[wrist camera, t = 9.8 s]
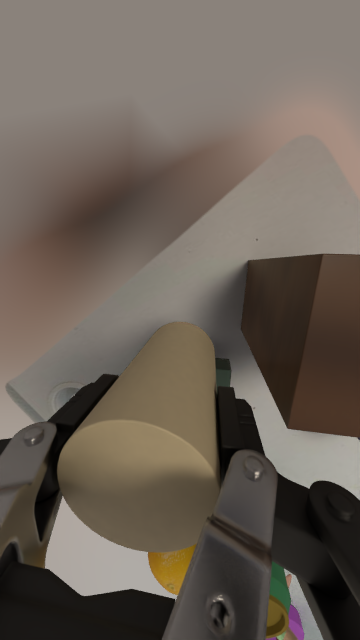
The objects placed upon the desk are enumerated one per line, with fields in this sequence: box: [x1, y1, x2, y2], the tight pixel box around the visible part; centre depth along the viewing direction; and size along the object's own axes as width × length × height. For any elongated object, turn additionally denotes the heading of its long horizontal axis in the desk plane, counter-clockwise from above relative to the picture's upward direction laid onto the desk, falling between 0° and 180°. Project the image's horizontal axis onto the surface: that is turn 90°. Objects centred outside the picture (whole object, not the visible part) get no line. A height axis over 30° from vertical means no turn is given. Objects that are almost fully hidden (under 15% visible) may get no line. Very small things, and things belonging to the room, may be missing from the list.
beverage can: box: [266, 561, 291, 639], centre depth 26 cm, size 8×8×12 cm
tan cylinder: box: [57, 322, 222, 553], centre depth 11 cm, size 5×5×10 cm
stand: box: [241, 254, 360, 438], centre depth 16 cm, size 8×8×16 cm
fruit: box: [148, 543, 197, 595], centre depth 31 cm, size 9×8×8 cm
